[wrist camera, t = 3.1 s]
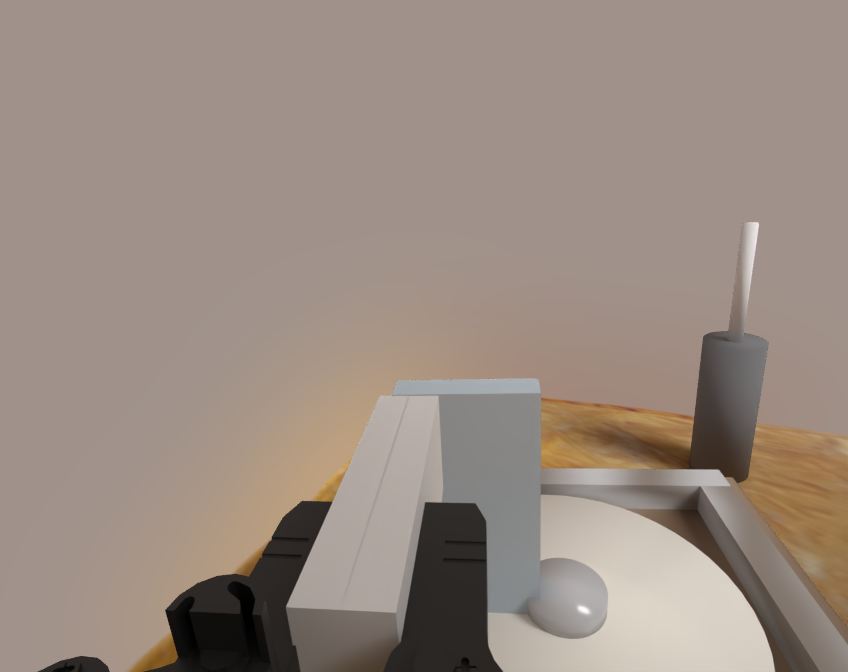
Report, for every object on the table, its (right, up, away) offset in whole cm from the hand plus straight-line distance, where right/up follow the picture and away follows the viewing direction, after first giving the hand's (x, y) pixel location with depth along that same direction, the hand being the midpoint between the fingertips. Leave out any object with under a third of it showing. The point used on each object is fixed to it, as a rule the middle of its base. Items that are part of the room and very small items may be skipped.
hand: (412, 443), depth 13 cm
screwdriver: (+20, -6, +21) cm, 29 cm away
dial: (+6, -9, +8) cm, 13 cm away
